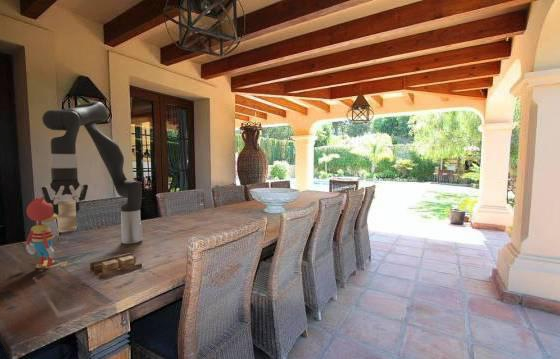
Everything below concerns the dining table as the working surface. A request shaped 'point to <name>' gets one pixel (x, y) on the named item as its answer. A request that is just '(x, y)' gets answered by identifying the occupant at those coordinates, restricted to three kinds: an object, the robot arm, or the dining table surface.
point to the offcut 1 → (109, 265)
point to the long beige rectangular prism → (66, 215)
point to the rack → (97, 270)
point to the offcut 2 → (126, 261)
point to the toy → (41, 232)
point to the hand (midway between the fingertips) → (66, 213)
